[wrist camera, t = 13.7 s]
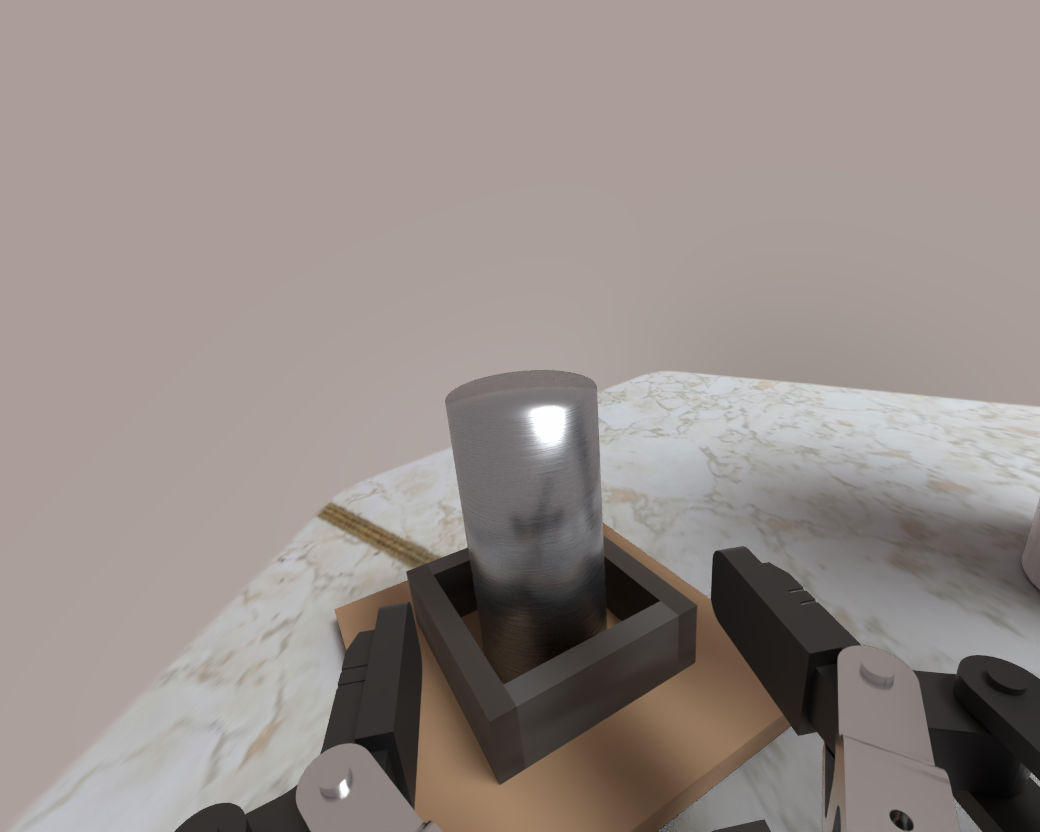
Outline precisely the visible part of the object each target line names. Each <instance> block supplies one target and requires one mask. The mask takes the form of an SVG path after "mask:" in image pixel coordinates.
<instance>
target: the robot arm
mask: <svg viewBox="0 0 1040 832" xmlns="http://www.w3.org/2000/svg"><path fill="white" fill-rule="evenodd" d="M1022 565H1023V569H1024V571H1025V573H1026V574H1027V576H1028V577H1029V579H1030V580H1031V582H1032V583H1033V584H1034V585H1035V586H1036V587H1037V588H1038V589H1039V590H1040V499H1039V503H1038V506H1037V509H1036V513H1035V516H1034V519H1033V523H1032V526H1031V529H1030V533H1029V536H1028V539H1027V543H1026V546H1025V550H1024V553H1023V556H1022ZM711 602H712V607H713V611H714V614H715V616H716V618H717V620H718V622H719V624H720V625H721V626H722V628H723V629H724V631H725V632H726V634H727V635H728V636H729V638H730V639H731V641H732V642H733V644H734V645H735V646H736V648H737V649H738V651H739V652H740V654H741V655H742V656H743V658H744V659H745V661H746V662H747V664H748V665H749V666H750V668H751V669H752V671H753V672H754V674H755V675H756V676H757V678H758V679H759V681H760V682H761V683H762V685H763V686H764V688H765V689H766V691H767V692H768V693H769V695H770V696H771V698H772V699H773V701H774V702H775V703H776V705H777V706H778V708H779V709H780V711H781V712H782V713H783V715H784V716H785V718H786V719H787V721H788V722H789V723H790V725H791V726H792V728H793V729H794V731H795V732H796V733H797V735H798V736H800V735H804V734H809V733H814V732H818V734H819V735H820V736H821V738H822V739H823V740H824V746H823V774H822V832H960V828H959V823H958V818H957V814H956V809H955V804H954V799H953V797H954V798H955V799H956V801H957V802H958V803H959V804H960V805H961V807H962V808H963V809H964V810H965V811H966V813H967V814H968V815H969V816H970V817H971V818H972V820H973V821H974V822H975V823H976V824H977V826H978V827H979V828H980V829H981V830H982V832H1040V787H1039V786H1038V785H1037V784H1036V783H1035V782H1034V781H1033V780H1032V779H1031V778H1030V777H1029V776H1030V774H1031V772H1032V773H1033V774H1034V775H1035V776H1036V777H1037V778H1038V779H1039V780H1040V679H1039V678H1037V677H1036V676H1034V675H1033V674H1032V673H1030V672H1028V671H1027V670H1025V669H1023V668H1021V667H1019V666H1017V665H1015V664H1013V663H1010V662H1008V661H1005V660H1002V659H999V658H995V657H990V656H982V655H975V656H969V657H966V658H964V659H963V660H962V661H961V662H960V664H959V666H958V670H957V674H945V673H934V672H923V671H914V670H912V669H911V668H910V667H909V666H908V665H907V664H905V663H904V662H903V661H902V660H900V659H899V658H897V657H896V656H894V655H892V654H890V653H888V652H886V651H883V650H881V649H877V648H874V647H869V646H862V645H861V644H860V643H859V642H858V641H857V640H856V639H855V638H854V637H853V636H852V635H851V634H850V633H849V632H848V631H847V630H846V629H845V628H844V627H843V626H842V625H841V624H840V623H838V622H837V621H836V620H835V619H834V618H833V617H832V616H831V615H830V614H829V613H828V612H827V611H826V610H825V609H824V608H823V607H822V606H821V605H820V604H819V603H818V602H817V603H816V601H815V599H814V598H813V597H812V596H811V595H810V594H809V593H808V592H807V591H804V589H803V587H802V586H801V585H800V584H799V583H798V582H797V581H796V580H795V579H794V578H793V577H792V576H791V575H790V574H789V573H787V572H785V571H784V570H782V569H780V568H778V567H776V566H775V565H773V564H771V563H769V562H768V563H761V562H760V561H759V560H758V559H757V558H756V557H755V556H754V555H753V554H752V553H751V551H750V550H749V549H747V548H746V547H743V546H742V547H736V548H730V549H724V550H718V551H715V552H714V555H713V565H712V587H711ZM421 692H422V655H421V649H420V644H419V639H418V634H417V629H416V625H415V620H414V615H413V611H412V606H411V603H410V602H404V603H398V604H392V605H386V606H381V607H379V610H378V615H377V620H376V625H375V629H374V630H368V631H363V632H359V633H358V634H357V636H356V637H355V639H354V640H353V642H352V643H351V644H350V646H349V647H348V649H347V650H346V654H345V658H344V662H343V666H342V673H341V674H340V678H339V682H338V689H337V691H336V695H335V699H334V703H333V707H332V711H331V715H330V719H329V723H328V727H327V731H326V735H325V739H324V743H323V747H322V751H321V754H320V755H319V756H318V757H317V758H316V759H314V760H313V761H312V762H311V764H310V765H309V766H308V767H307V768H306V770H305V771H304V773H303V775H302V776H301V778H300V780H299V783H298V785H296V786H295V787H294V788H293V789H291V790H290V791H289V792H287V793H285V794H284V795H282V796H280V797H278V798H276V799H274V800H272V801H270V802H268V803H267V804H265V805H263V806H261V807H259V808H257V809H255V810H253V811H251V812H249V813H247V814H244V811H243V810H242V809H241V808H240V807H239V806H237V805H235V804H232V803H220V804H215V805H212V806H209V807H207V808H205V809H203V810H201V811H199V812H198V813H196V814H194V815H193V816H191V817H190V818H189V819H187V820H186V821H185V822H184V823H183V824H182V825H181V826H179V827H178V828H177V830H176V831H175V832H443V831H442V829H441V828H440V827H439V826H438V825H437V824H436V823H434V822H433V821H431V820H429V821H428V822H427V823H425V822H424V821H422V819H421V818H420V817H419V816H418V815H417V813H416V812H415V794H416V777H417V760H418V743H419V726H420V709H421ZM712 832H771V831H770V829H769V827H768V826H767V824H766V822H765V820H759V821H755V822H750V823H746V824H741V825H737V826H732V827H728V828H723V829H719V830H715V831H712Z"/></svg>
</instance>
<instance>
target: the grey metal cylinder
mask: <svg viewBox="0 0 1040 832" xmlns="http://www.w3.org/2000/svg"><path fill="white" fill-rule="evenodd" d="M445 403H446V410H447V416H448V422H449V429H450V435H451V442H452V448H453V455H454V461H455V468H456V474H457V480H458V487H459V493H460V500H461V506H462V513H463V519H464V525H465V532H466V538H467V545H468V551H469V558H470V564H471V570H472V577H473V583H474V590H475V596H476V602H477V609H478V615H479V622H480V628H481V635H482V641H483V647H484V654H485V657H486V659H487V660H488V662H489V663H490V665H491V666H492V668H493V670H494V671H495V673H496V674H497V676H498V678H499V679H500V681H501V682H502V683H503V684H506V683H508V682H510V681H511V680H513V679H515V678H517V677H519V676H521V675H523V674H525V673H526V672H528V671H530V670H532V669H534V668H536V667H538V666H540V665H541V664H543V663H545V662H547V661H549V660H551V659H553V658H554V657H556V656H558V655H560V654H562V653H564V652H566V651H568V650H569V649H571V648H573V647H575V646H577V645H579V644H581V643H583V642H584V641H586V640H588V639H590V638H592V637H594V636H596V635H598V634H599V633H601V632H603V631H605V630H607V611H606V588H605V565H604V543H603V520H602V497H601V474H600V451H599V428H598V405H597V387H596V384H595V382H594V381H593V380H591V379H590V378H588V377H585V376H583V375H580V374H576V373H571V372H564V371H553V370H551V371H550V370H534V371H533V370H531V371H518V372H510V373H503V374H498V375H493V376H488V377H484V378H481V379H477V380H474V381H471V382H469V383H466V384H464V385H461V386H460V387H458V388H456V389H454V390H453V391H451V392H450V393H449V394H448V396H447V397H446V400H445Z"/></svg>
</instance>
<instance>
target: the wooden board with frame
mask: <svg viewBox="0 0 1040 832" xmlns="http://www.w3.org/2000/svg"><path fill="white" fill-rule="evenodd" d="M603 543H604V565H605V588H606V611H607V630H605V631H603V632H601V633H599V634H598V635H596V636H594V637H592V638H590V639H588V640H586V641H584V642H583V643H581V644H579V645H577V646H575V647H573V648H571V649H569V650H568V651H566V652H564V653H562V654H560V655H558V656H556V657H554V658H553V659H551V660H549V661H547V662H545V663H543V664H541V665H540V666H538V667H536V668H534V669H532V670H530V671H528V672H526V673H525V674H523V675H521V676H519V677H517V678H515V679H513V680H511V681H510V682H508V683H506V684H503V683H502V682H501V681H500V679H499V678H498V676H497V674H496V673H495V671H494V670H493V668H492V666H491V665H490V663H489V662H488V660H487V659H486V657H485V654H484V647H483V641H482V635H481V628H480V622H479V615H478V609H477V602H476V596H475V590H474V583H473V577H472V570H471V564H470V558H469V551H468V548H466V549H463V550H460V551H458V552H455V553H453V554H450V555H448V556H445V557H443V558H440V559H437V560H435V561H432V562H430V563H427V564H425V565H422V566H419V567H417V568H414V569H412V570H409V571H407V572H406V573H407V577H408V580H407V581H405V582H402V583H400V584H397V585H395V586H392V587H390V588H387V589H385V590H382V591H380V592H377V593H375V594H372V595H370V596H367V597H365V598H362V599H360V600H357V601H355V602H352V603H350V604H347V605H345V606H342V607H340V608H337V609H335V613H336V617H337V620H338V624H339V627H340V631H341V634H342V638H343V641H344V645H345V648H346V650H347V649H348V647H349V646H350V644H351V643H352V642H353V640H354V639H355V637H356V636H357V634H358V633H359V632H363V631H368V630H374V629H375V625H376V620H377V615H378V610H379V607H381V606H386V605H392V604H398V603H404V602H410V603H411V606H412V611H413V615H414V620H415V625H416V629H417V634H418V639H419V644H420V649H421V655H422V692H421V709H420V726H419V743H418V760H417V777H416V794H415V812H416V813H417V815H418V816H419V817H420V818H421V819H422V821H424V822H425V823H427V822H428V821H429V820H431V821H433V822H434V823H436V824H437V825H438V826H439V827H440V828H441V829H442V831H443V832H657V831H658V830H659V829H661V828H662V827H663V826H664V825H666V824H667V823H668V822H669V821H671V820H672V819H673V818H675V817H676V816H677V815H678V814H680V813H681V812H682V811H683V810H685V809H686V808H687V807H689V806H690V805H691V804H692V803H694V802H695V801H696V800H697V799H699V798H700V797H701V796H702V795H704V794H705V793H706V792H708V791H709V790H710V789H711V788H713V787H714V786H715V785H716V784H718V783H719V782H720V781H722V780H723V779H724V778H725V777H727V776H728V775H729V774H730V773H732V772H733V771H734V770H736V769H737V768H738V767H739V766H741V765H742V764H743V763H744V762H746V761H747V760H748V759H749V758H751V757H752V756H753V755H755V754H756V753H757V752H758V751H760V750H761V749H762V748H763V747H765V746H766V745H767V744H769V743H770V742H771V741H772V740H774V739H775V738H776V737H777V736H779V735H780V734H781V733H782V732H784V731H785V730H786V729H788V728H789V727H790V726H791V725H790V723H789V722H788V721H787V719H786V718H785V716H784V715H783V713H782V712H781V711H780V709H779V708H778V706H777V705H776V703H775V702H774V701H773V699H772V698H771V696H770V695H769V693H768V692H767V691H766V689H765V688H764V686H763V685H762V683H761V682H760V681H759V679H758V678H757V676H756V675H755V674H754V672H753V671H752V669H751V668H750V666H749V665H748V664H747V662H746V661H745V659H744V658H743V656H742V655H741V654H740V652H739V651H738V649H737V648H736V646H735V645H734V644H733V642H732V641H731V639H730V638H729V636H728V635H727V634H726V632H725V631H724V629H723V628H722V626H721V625H720V624H719V622H718V620H717V618H716V616H715V614H714V611H713V607H712V602H711V600H710V599H709V598H708V597H706V596H705V595H703V594H702V593H701V592H699V591H698V590H696V589H695V588H694V587H692V586H691V585H689V584H688V583H687V582H685V581H684V580H682V579H681V578H680V577H678V576H677V575H675V574H674V573H673V572H671V571H670V570H668V569H667V568H666V567H664V566H663V565H661V564H660V563H659V562H657V561H656V560H654V559H653V558H652V557H650V556H649V555H647V554H646V553H645V552H643V551H642V550H640V549H639V548H638V547H636V546H635V545H633V544H632V543H631V542H629V541H628V540H626V539H625V538H624V537H622V536H621V535H619V534H618V533H617V532H615V531H614V530H612V529H611V528H610V527H608V526H607V525H605V524H604V523H603Z"/></svg>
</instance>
